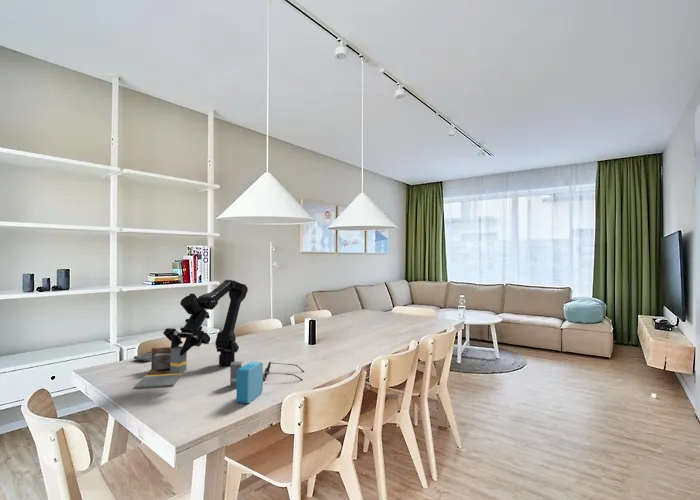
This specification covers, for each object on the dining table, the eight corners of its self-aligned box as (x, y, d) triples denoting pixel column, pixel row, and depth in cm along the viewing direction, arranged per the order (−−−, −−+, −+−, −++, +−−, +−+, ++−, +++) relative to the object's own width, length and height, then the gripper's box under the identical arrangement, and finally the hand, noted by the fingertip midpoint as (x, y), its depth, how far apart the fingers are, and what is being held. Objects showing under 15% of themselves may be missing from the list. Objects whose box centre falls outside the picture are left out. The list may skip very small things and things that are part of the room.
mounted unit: (186, 367, 170) (186, 345, 170) (182, 372, 163) (183, 349, 163) (152, 369, 167) (153, 347, 167) (147, 374, 160) (148, 351, 160)
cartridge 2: (241, 383, 150) (241, 361, 150) (240, 387, 146) (241, 364, 146) (230, 384, 149) (231, 362, 149) (230, 387, 145) (230, 365, 145)
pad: (181, 375, 159) (181, 373, 159) (173, 386, 146) (173, 384, 146) (145, 377, 156) (145, 375, 156) (134, 388, 143) (134, 386, 143)
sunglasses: (268, 372, 166) (269, 361, 166) (304, 374, 167) (305, 362, 167) (263, 382, 152) (264, 370, 152) (302, 384, 153) (303, 372, 153)
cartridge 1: (177, 368, 146) (178, 346, 146) (186, 369, 145) (186, 346, 145) (170, 372, 142) (170, 348, 142) (179, 373, 141) (179, 349, 141)
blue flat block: (251, 391, 141) (252, 360, 142) (262, 392, 140) (263, 361, 141) (236, 404, 130) (236, 369, 130) (247, 405, 129) (248, 370, 129)
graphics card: (157, 346, 196) (174, 348, 191) (158, 353, 196) (174, 355, 191) (128, 354, 180) (145, 357, 175) (128, 362, 180) (146, 365, 175)
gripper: (223, 333, 156) (206, 367, 145) (185, 330, 161) (166, 363, 150) (211, 318, 149) (192, 352, 138) (173, 315, 153) (151, 348, 143)
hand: (176, 354), depth 142 cm, fingers closed on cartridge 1, 4 cm apart
